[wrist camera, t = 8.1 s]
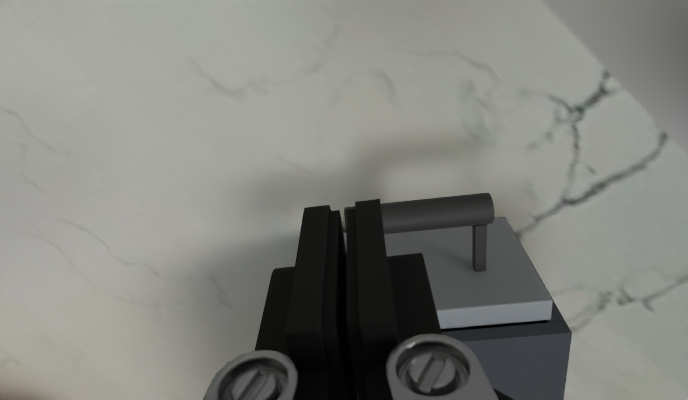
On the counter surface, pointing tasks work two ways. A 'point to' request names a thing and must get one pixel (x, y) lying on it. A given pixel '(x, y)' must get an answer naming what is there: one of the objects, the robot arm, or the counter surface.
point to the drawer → (467, 261)
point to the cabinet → (523, 356)
